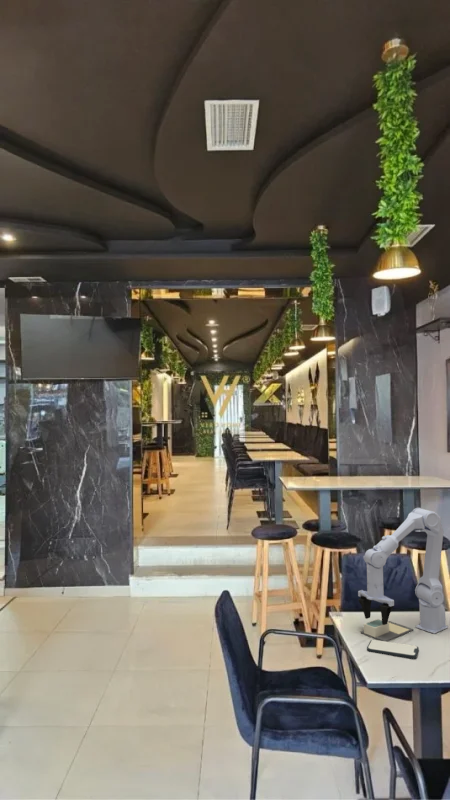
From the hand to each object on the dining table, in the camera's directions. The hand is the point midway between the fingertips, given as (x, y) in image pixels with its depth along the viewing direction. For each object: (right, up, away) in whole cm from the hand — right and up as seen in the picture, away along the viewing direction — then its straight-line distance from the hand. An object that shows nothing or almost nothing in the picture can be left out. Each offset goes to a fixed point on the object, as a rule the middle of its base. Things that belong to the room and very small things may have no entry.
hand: (376, 621), depth 190 cm
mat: (+4, -5, +1) cm, 7 cm away
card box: (0, -4, 0) cm, 4 cm away
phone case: (+2, -5, -14) cm, 15 cm away
